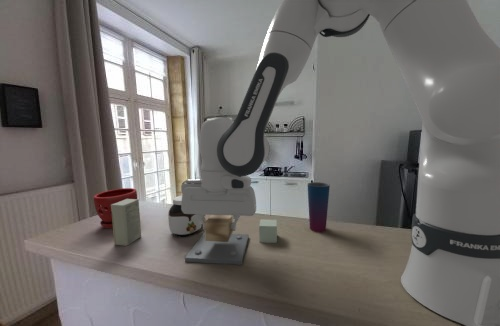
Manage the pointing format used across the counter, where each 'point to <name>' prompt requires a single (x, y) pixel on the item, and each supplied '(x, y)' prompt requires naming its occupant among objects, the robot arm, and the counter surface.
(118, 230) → the skincare box
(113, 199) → the plant pot
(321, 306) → the counter surface
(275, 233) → the sage block
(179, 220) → the spread jar
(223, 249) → the build plate
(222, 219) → the oak block
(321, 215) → the cup
